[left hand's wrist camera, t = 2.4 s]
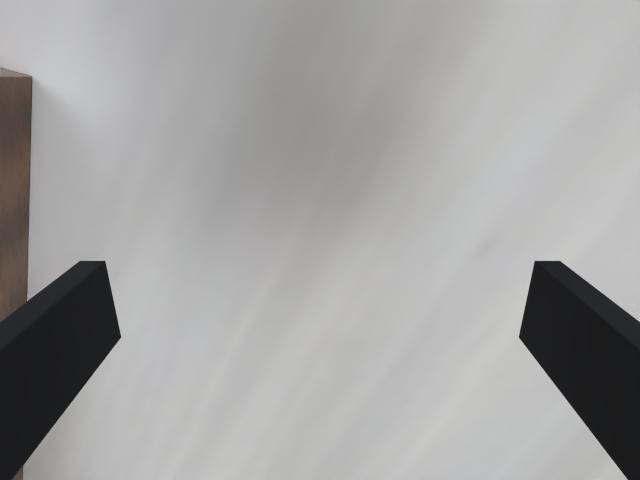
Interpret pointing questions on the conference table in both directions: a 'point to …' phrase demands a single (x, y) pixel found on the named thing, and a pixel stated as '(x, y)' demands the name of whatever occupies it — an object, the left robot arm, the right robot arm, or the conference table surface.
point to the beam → (14, 191)
